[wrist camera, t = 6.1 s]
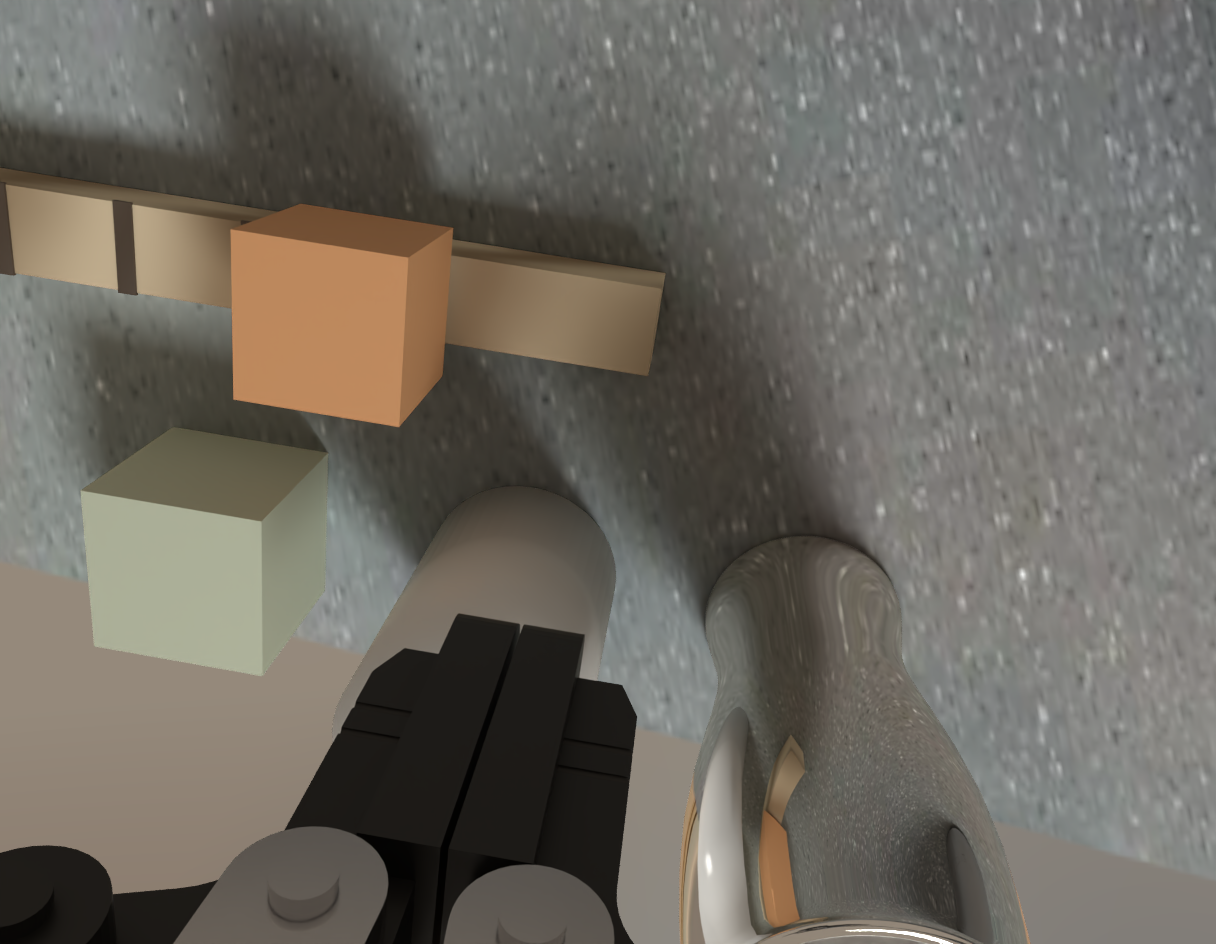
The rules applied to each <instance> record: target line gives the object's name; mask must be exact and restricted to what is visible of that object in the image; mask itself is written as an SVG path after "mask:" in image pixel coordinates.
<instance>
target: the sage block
mask: <svg viewBox="0 0 1216 944" xmlns="http://www.w3.org/2000/svg"><path fill="white" fill-rule="evenodd" d="M327 484H328V453H326V452H320V451H314V450H308V449H302V448H296V447H290V446H284V445H278V444H272V443H266V442H260V441H254V440H248V439H242V438H237V437H231V436H225V435H219V434H213V433H207V432H201V431H195V430H189V429H183V428H177V427H172V428H171V429H169V430H168V431H166V432H165V433H163V434H162V435H161V436H159V437H158V438H156V439H155V440H153V441H152V442H150V443H149V444H147V445H146V446H145V447H143V448H142V449H140V450H139V451H137V452H136V453H134V454H133V455H132V456H130V457H129V458H127V459H126V460H124V461H123V462H121V463H120V464H118V465H117V466H116V467H114V468H113V469H111V470H110V471H108V472H107V473H105V474H104V475H102V476H101V477H100V478H98V479H97V480H95V481H94V482H92V483H91V484H89V485H88V486H87V487H85V488H84V489H82V490H81V502H82V513H83V524H84V536H85V547H86V558H87V570H88V581H89V592H90V602H91V615H92V626H93V638H94V646H95V647H101V648H107V649H113V650H118V651H124V652H129V653H135V654H141V655H146V656H152V657H157V658H164V659H169V660H175V661H180V662H186V663H191V664H197V665H203V666H208V667H215V668H219V669H225V670H231V671H236V672H243V673H248V674H254V675H259V676H263V675H264V673H265V672H266V671H267V669H268V668H269V666H270V665H271V664H272V662H273V661H274V660H275V658H276V657H277V656H278V654H279V653H280V652H281V650H282V649H283V647H284V646H285V645H286V643H287V642H288V641H289V639H290V638H291V636H292V635H293V634H294V632H295V631H296V630H297V628H298V627H299V625H300V624H301V623H302V621H303V620H304V619H305V617H306V616H307V615H308V613H309V612H310V610H311V609H312V608H313V606H314V605H315V604H316V602H317V601H318V599H319V598H320V597H321V595H322V594H323V593H324V591H325V570H326V527H327Z"/></svg>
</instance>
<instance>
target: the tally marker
mask: <svg viewBox="0 0 1216 944" xmlns="http://www.w3.org/2000/svg"><path fill="white" fill-rule="evenodd" d="M452 238H453V228H451V227H445V226H439V225H432V224H426V223H420V222H413V221H407V220H401V219H394V218H388V217H382V216H376V215H369V214H363V213H357V212H350V211H344V210H338V209H331V208H325V207H319V206H312V205H306V204H299V205H296V206H293V207H290V208H288V209H285V210H282V211H279V212H277V213H274V214H271V215H268V216H266V217H263V218H260V219H257V220H255V221H252V222H249V223H246V224H244V225H241V226H238V227H236V228H233V229H231V285H232V342H233V400H239V401H245V402H251V403H257V404H263V405H269V406H275V407H281V408H287V409H293V410H299V411H305V412H311V413H317V414H323V415H329V416H335V417H341V418H347V419H353V420H359V421H365V422H371V423H377V424H383V425H389V426H395V427H400V425H401V424H402V423H403V422H404V421H405V420H406V418H407V417H408V416H409V415H410V414H411V412H412V411H413V410H414V409H415V408H416V407H417V405H418V404H419V403H420V402H421V401H422V400H423V398H424V397H425V396H426V395H427V394H428V392H429V391H430V390H431V389H432V388H433V387H434V385H435V384H436V383H437V382H438V381H439V379H440V378H441V377H442V376H443V363H444V349H445V335H446V321H447V307H448V294H449V280H450V266H451V252H452Z"/></svg>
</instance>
